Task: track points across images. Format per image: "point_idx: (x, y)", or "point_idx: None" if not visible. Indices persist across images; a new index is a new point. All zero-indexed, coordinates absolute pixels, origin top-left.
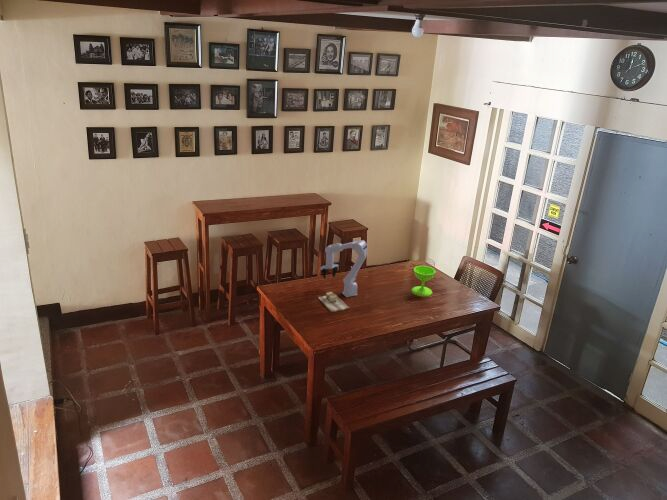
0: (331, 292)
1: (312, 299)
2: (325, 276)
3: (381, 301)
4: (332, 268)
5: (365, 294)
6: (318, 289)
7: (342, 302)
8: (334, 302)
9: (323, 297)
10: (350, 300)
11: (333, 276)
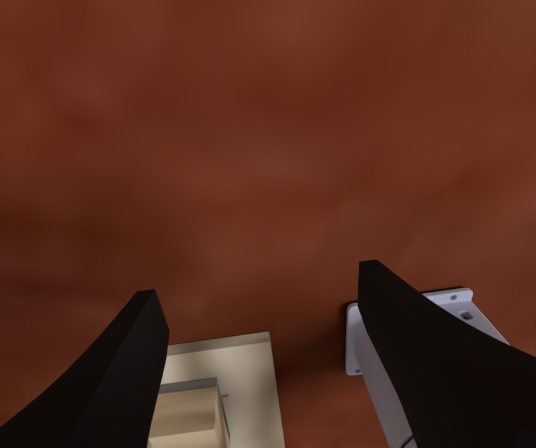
0: (206, 436)
1: (28, 365)
2: (160, 382)
3: None
4: (475, 397)
5: None
6: (114, 190)
7: (273, 442)
8: None
9: None
10: (351, 404)
11: (360, 304)
